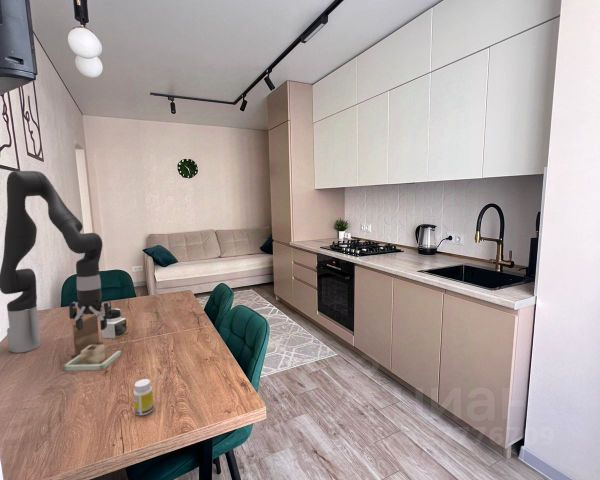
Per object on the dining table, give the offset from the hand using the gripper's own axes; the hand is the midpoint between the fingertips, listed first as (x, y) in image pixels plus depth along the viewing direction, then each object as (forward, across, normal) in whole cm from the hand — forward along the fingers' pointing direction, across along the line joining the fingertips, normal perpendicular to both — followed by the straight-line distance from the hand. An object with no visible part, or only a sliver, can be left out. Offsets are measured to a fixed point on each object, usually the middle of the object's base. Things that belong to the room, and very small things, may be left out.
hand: (91, 329), depth 122 cm
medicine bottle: (+13, -5, +25) cm, 29 cm away
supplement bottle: (+12, +33, -32) cm, 48 cm away
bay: (+12, 0, -1) cm, 12 cm away
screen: (+13, -8, +10) cm, 18 cm away
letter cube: (+13, 0, -1) cm, 13 cm away
